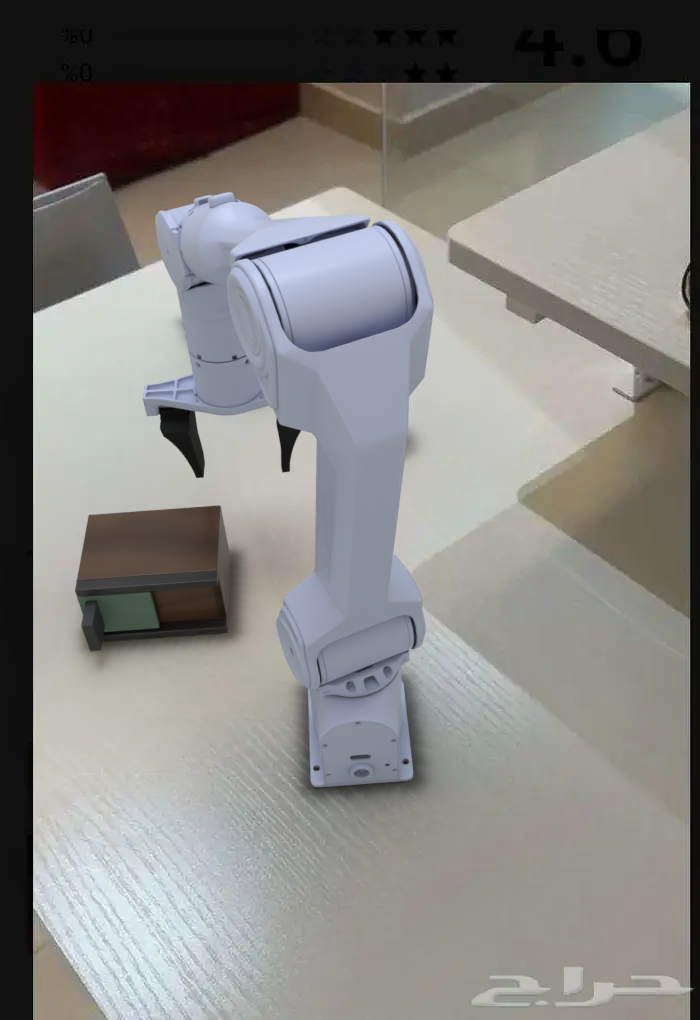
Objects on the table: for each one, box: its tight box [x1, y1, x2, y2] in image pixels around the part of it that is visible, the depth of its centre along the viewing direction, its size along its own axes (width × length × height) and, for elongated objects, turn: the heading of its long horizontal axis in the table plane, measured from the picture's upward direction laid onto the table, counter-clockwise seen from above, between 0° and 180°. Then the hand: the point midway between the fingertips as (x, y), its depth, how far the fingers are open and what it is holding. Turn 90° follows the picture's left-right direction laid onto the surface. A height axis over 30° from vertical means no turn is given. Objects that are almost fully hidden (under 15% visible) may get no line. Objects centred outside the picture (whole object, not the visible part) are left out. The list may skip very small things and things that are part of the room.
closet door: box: [76, 591, 160, 652], centre depth 91 cm, size 3×6×5 cm, turn 93°
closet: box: [74, 504, 232, 643], centre depth 95 cm, size 9×12×7 cm
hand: (243, 467), depth 95 cm, fingers open, 7 cm apart
